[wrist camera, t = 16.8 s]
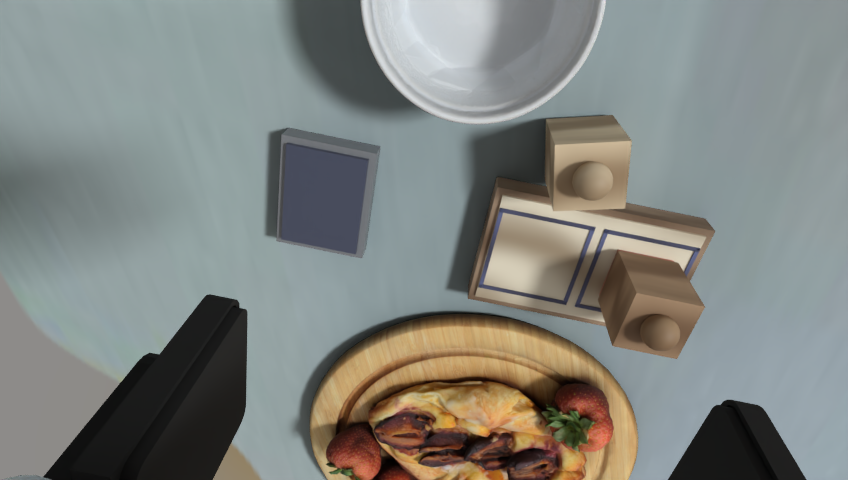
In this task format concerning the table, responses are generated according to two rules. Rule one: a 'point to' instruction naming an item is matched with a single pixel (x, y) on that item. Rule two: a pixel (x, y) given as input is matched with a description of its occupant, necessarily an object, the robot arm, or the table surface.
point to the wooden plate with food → (471, 406)
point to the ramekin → (480, 52)
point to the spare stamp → (586, 163)
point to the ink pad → (325, 192)
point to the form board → (570, 250)
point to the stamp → (648, 304)
